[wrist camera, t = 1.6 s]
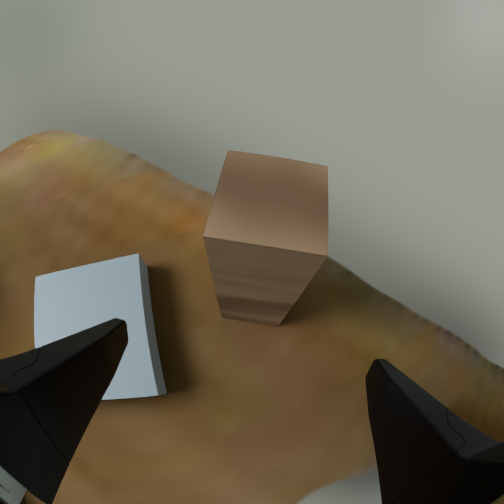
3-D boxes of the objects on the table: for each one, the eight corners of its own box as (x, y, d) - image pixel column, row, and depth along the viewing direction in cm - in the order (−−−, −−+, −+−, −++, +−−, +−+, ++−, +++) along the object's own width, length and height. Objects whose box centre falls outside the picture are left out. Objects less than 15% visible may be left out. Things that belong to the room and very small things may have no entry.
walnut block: (277, 326, 21) (327, 255, 10) (221, 317, 21) (203, 235, 10) (284, 274, 23) (327, 166, 12) (231, 265, 23) (228, 150, 12)
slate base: (167, 393, 18) (158, 395, 16) (56, 399, 17) (41, 399, 14) (147, 265, 23) (138, 253, 21) (49, 286, 21) (35, 276, 19)
